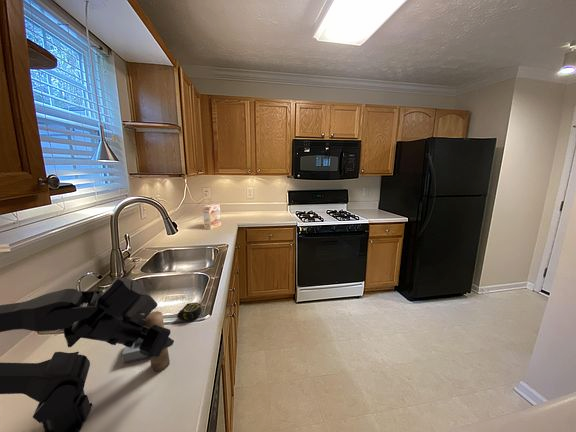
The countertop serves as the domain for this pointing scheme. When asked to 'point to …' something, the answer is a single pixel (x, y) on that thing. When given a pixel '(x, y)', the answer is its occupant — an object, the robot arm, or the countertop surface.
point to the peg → (163, 359)
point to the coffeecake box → (212, 216)
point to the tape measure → (190, 311)
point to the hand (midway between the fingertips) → (161, 337)
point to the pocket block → (133, 352)
